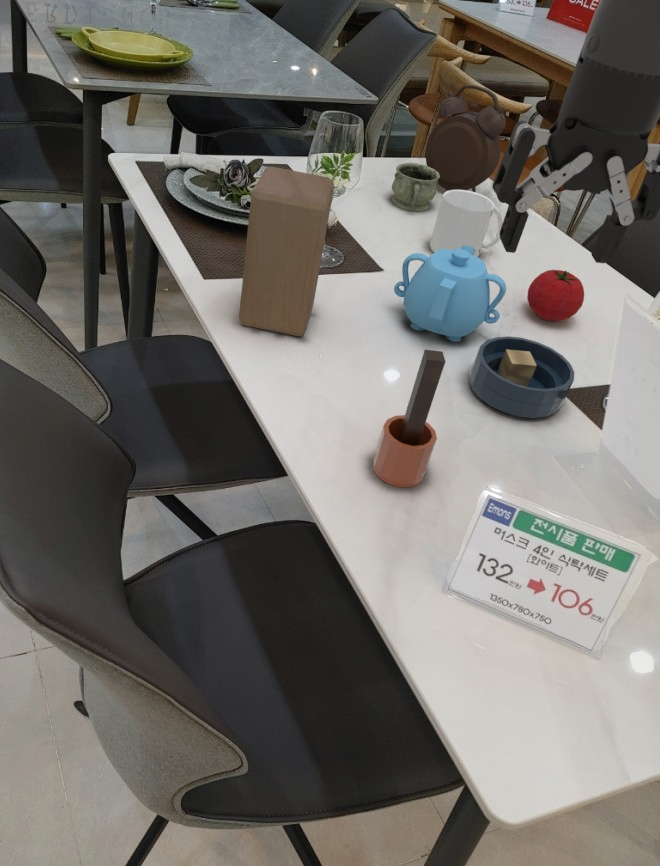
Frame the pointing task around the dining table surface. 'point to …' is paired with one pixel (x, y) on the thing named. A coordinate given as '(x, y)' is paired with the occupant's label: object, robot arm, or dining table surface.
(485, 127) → the alarm clock
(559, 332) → the dining table surface
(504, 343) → the bowl
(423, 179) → the vessel
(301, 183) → the wooden block
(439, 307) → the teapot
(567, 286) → the tomato
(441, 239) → the mug
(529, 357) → the block
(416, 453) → the holder
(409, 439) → the stick
